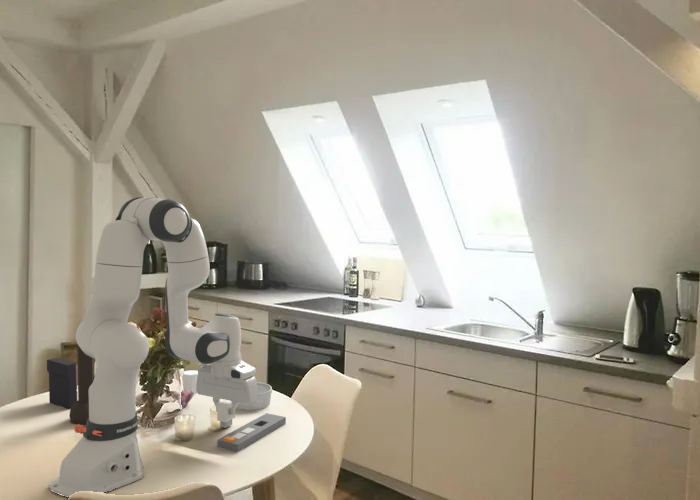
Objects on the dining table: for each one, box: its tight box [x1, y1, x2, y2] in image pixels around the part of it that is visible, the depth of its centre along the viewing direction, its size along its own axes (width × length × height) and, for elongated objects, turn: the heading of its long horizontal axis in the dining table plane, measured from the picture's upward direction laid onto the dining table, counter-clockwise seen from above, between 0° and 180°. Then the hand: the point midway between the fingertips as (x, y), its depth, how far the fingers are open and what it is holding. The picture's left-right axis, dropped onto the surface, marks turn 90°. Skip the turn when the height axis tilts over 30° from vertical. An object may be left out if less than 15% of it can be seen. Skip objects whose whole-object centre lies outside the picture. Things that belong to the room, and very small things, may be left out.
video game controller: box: [180, 390, 195, 409], centre depth 205 cm, size 10×5×7 cm, turn 169°
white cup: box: [181, 369, 198, 394], centre depth 223 cm, size 7×7×7 cm
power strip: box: [216, 413, 287, 453], centre depth 180 cm, size 24×7×4 cm, turn 154°
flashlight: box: [69, 344, 95, 426], centre depth 192 cm, size 10×25×10 cm
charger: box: [216, 399, 236, 429], centre depth 185 cm, size 4×3×7 cm
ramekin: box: [236, 381, 273, 411], centre depth 206 cm, size 13×13×7 cm
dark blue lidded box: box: [46, 357, 78, 410], centre depth 206 cm, size 11×4×15 cm, turn 58°
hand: (226, 413), depth 185 cm, fingers closed on charger, 3 cm apart
